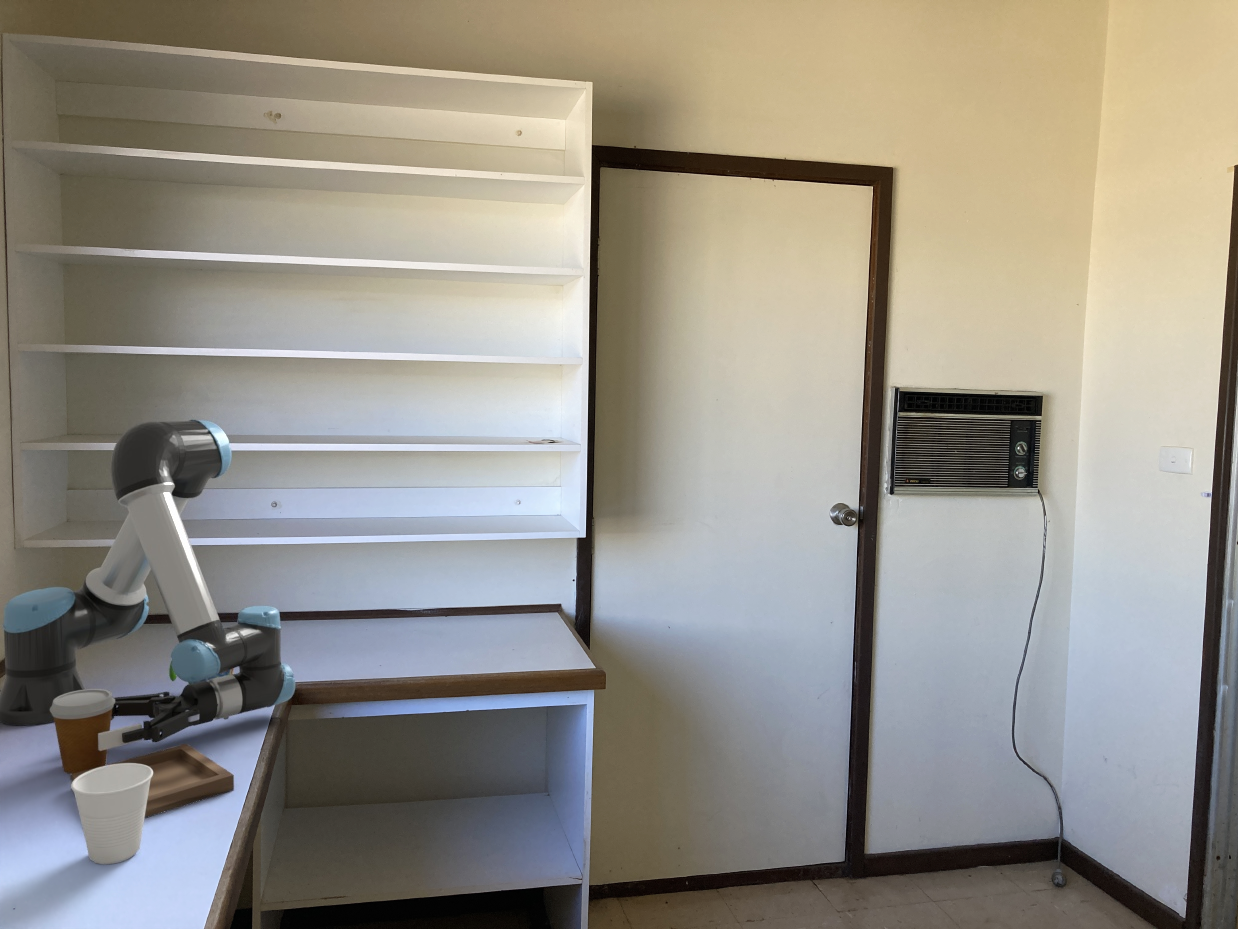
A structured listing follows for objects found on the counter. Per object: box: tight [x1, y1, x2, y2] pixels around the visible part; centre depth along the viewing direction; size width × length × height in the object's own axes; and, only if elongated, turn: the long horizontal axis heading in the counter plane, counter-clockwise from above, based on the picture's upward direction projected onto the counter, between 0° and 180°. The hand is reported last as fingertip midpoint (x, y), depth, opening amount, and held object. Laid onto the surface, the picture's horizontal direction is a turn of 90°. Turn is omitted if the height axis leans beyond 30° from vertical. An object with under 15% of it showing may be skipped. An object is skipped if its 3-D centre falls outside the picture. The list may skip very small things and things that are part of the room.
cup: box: [70, 763, 153, 865], centre depth 127 cm, size 10×10×11 cm
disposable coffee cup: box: [50, 688, 115, 775], centre depth 155 cm, size 10×10×12 cm
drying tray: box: [70, 743, 235, 819], centre depth 147 cm, size 18×18×2 cm
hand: (83, 731), depth 154 cm, fingers open, 13 cm apart
